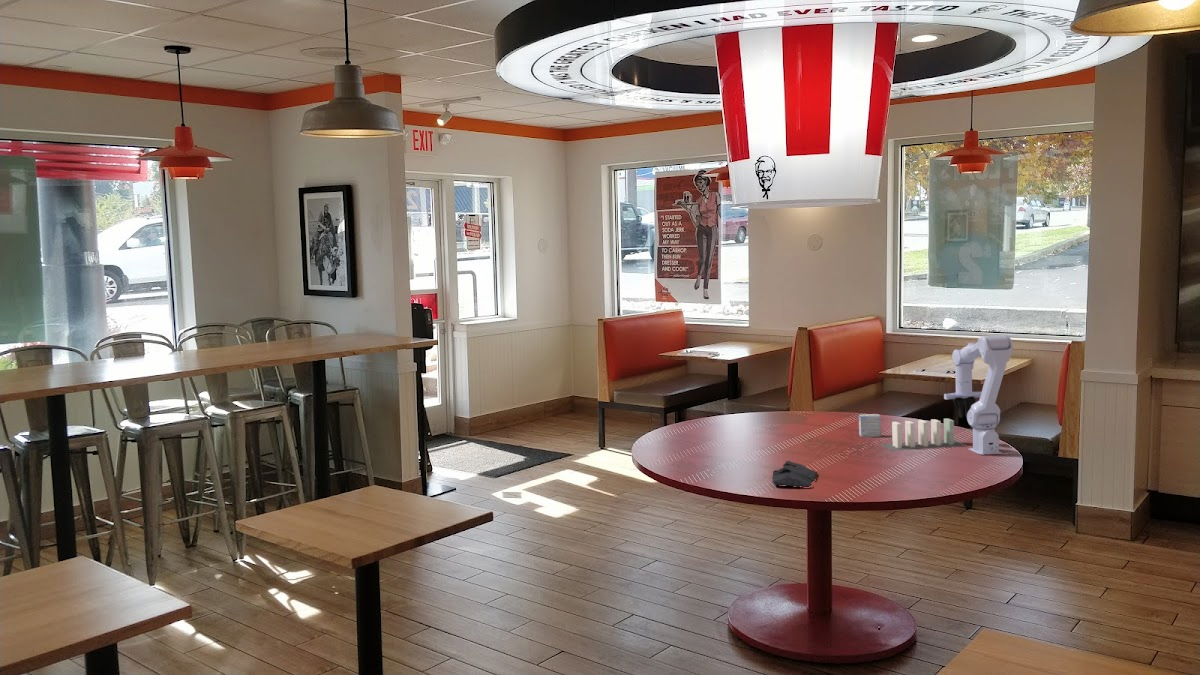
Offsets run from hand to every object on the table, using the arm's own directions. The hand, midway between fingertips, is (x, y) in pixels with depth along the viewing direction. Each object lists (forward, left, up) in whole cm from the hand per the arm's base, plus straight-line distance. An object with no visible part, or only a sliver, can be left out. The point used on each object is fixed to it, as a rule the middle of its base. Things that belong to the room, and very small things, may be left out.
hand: (964, 417), depth 348 cm
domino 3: (0, +16, -10) cm, 19 cm away
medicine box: (+23, +28, -10) cm, 38 cm away
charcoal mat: (0, +16, -10) cm, 19 cm away
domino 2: (0, +21, -10) cm, 23 cm away
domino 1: (0, +26, -10) cm, 28 cm away
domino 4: (0, +11, -10) cm, 15 cm away
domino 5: (0, +6, -10) cm, 11 cm away
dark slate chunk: (-38, +76, -11) cm, 86 cm away
